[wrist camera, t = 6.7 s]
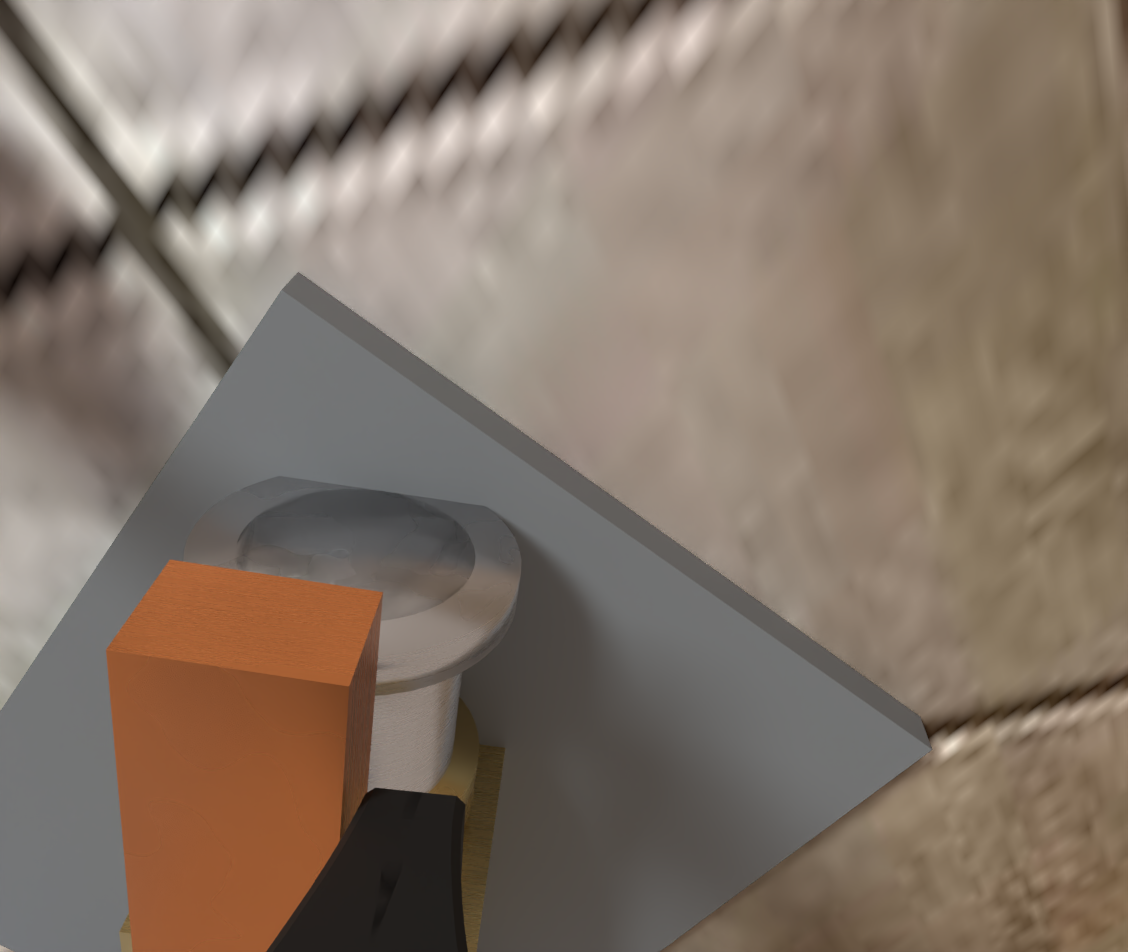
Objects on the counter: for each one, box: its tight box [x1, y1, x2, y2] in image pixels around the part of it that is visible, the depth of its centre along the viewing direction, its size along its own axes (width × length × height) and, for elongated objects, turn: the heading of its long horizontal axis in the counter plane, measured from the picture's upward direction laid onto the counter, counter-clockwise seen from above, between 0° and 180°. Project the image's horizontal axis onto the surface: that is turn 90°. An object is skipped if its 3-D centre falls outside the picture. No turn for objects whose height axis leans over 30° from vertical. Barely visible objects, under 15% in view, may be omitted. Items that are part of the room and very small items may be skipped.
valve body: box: [119, 476, 521, 952], centre depth 21 cm, size 18×6×8 cm, turn 172°
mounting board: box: [0, 272, 932, 952], centre depth 24 cm, size 20×16×1 cm
